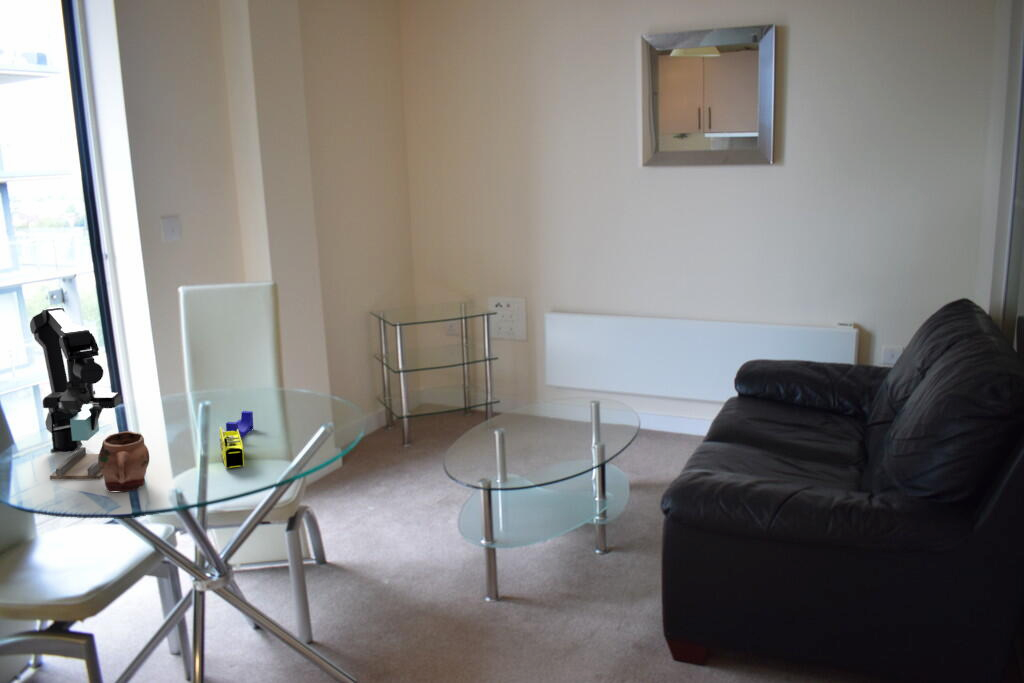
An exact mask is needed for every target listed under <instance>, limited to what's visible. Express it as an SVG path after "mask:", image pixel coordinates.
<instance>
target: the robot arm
mask: <svg viewBox="0 0 1024 683" xmlns="http://www.w3.org/2000/svg"><path fill="white" fill-rule="evenodd" d="M29 327H30V332H31V334H33V337H34V340H35V341H36V342H37V344H38V345H39V346H41V347H42V350H43V356H44V360H45V366H46V370H47V375H48V380H49V386H50V390H51V393H49V394H48V395H47V396H45V397H44V398H43V400H42V408H43V409H48V412H47V414H46V418H45V427H46V428H45V429H46V430H47V431H48V432H50V434H51V441H52V448H51V449H50V452H52V453H53V452H54V453H55V452H56V453H57V452H60V453H62V452H64V453H65V452H67V453H68V452H69V453H72V452H74V451H75V452H76V451H77V450H78V449H79V448H80V446H82V445H83V442H82V441H72V433H71V424H70V419H71V418H73V417H74V416H75V415H77V414H78V413H79V412H81V411H82V410H83V409H82V408H83V406H84V405H90V404H91V405H92V407H90V408H89V409H88V410H89V411H90V413H91V427H92V431H94V430H95V428H96V425H97V422H98V423H99V419H100V416H101V413H102V412H103V409H114V408H116V407H117V406H118V405H120V404H121V403H122V396H121V394H120V393H119V392H105V393H103V394H101V395H100V396H95V395H96V390H94V386H93V385H94V384H97V383H99V382H100V381H101V380H102V378H103V376H104V369H103V367H102V365H100V364H99V363H97V362H96V361H95V358H94V357H97V356H99V354H100V353H99V350H100V349H99V345H98V343H97V341H96V338H95V336H94V335H93V333H92V331H91V332H90V330H89V329H88V328H87V327H85V326H81V325H76V324H75V322H74V321H73V320H72V319H71V318H70V316H68V314H67V313H66V312H65V309H64V307H61V306H55V307H46V308H45V309H42V311H41V312H40V313H38V314H36V315H34V316H32V318H31V320H30V322H29ZM63 355H64V356H63ZM64 357H65V359H66V365H65V362H64ZM65 366H66V367H65ZM66 368H67V369H66ZM66 370H67V371H66ZM66 372H67V373H66Z"/></svg>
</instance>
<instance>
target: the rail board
mask: <svg viewBox="0 0 1024 683" xmlns="http://www.w3.org/2000/svg"><path fill="white" fill-rule="evenodd" d="M86 449H87V448H86V447H85V446H84V447H79V448H78V449H76V450H75V452H74V453H72V455H70V456H69V457H68V458H66V460H64V461H63V462H62V463H60V464H59V465H58V466H57V467H56V468H55V470H54V472H52V473H51V474H50V475H49V480H101V479H103V478H104V476H103V474H102V472H101V470H100V467H99V464H98V456H99V453H87V450H86Z"/></svg>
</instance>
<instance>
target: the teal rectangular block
mask: <svg viewBox="0 0 1024 683" xmlns="http://www.w3.org/2000/svg"><path fill="white" fill-rule="evenodd" d="M81 410H82V411H81V412H79V413H78V414H77V415H75V416H74V417H73V418H71V419H70V424H71V433H72V441H81V442H85V441H86V442H87V441H89V440H91V438H92V437H93V436H95V435H96V434H97V433H98V432H100V426H99V421H98V422H97V425H96V428H95V430H94V431H92V427H91V413H90V411H89V409H81Z"/></svg>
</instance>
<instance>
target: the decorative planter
mask: <svg viewBox="0 0 1024 683" xmlns="http://www.w3.org/2000/svg"><path fill="white" fill-rule="evenodd" d="M98 454H99V456H98V464H99V467H100V470H101V472H102V474H103V479H104V485H105V487H106V490H107V491H108V490H109V491H108V492H110V491H126V492H129V491H128V490H132V491H134V489H135V490H137V489H139V488H141V487H143V486H144V484H145V481H146V480H145V478H146V477H145V476H146V473H147V469H148V466H149V463H150V452H149V449H148V446H146V444H145V438H144V436H143V435H142V433H141V432H134V431H130V430H125V431H121V432H117V433H113V434H110V435H108V436H107V437H106V438H105V439H103V441H102V446H101V447H100V450H99V453H98Z"/></svg>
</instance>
